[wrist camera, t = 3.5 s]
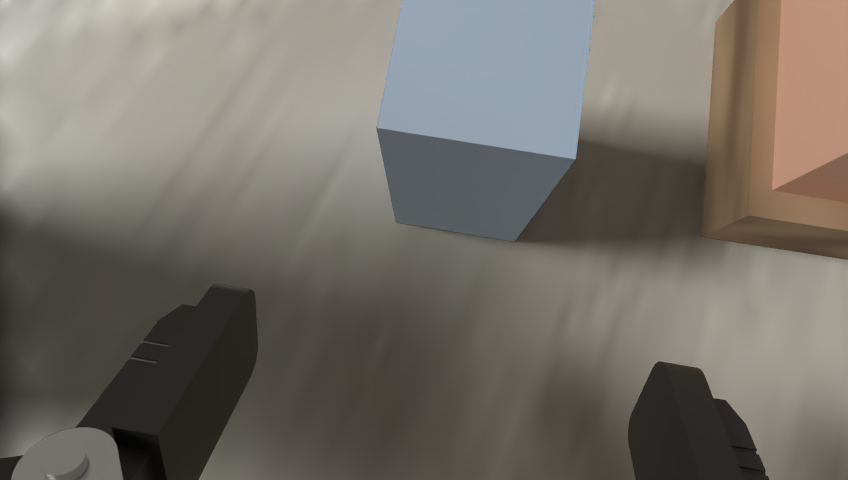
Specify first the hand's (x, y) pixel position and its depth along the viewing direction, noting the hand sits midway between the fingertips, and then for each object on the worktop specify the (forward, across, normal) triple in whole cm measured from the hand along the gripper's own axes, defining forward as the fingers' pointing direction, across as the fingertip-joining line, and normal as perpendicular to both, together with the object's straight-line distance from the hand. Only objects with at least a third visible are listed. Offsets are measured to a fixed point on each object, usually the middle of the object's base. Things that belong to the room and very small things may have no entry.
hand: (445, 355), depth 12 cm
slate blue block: (+14, 0, +3) cm, 14 cm away
